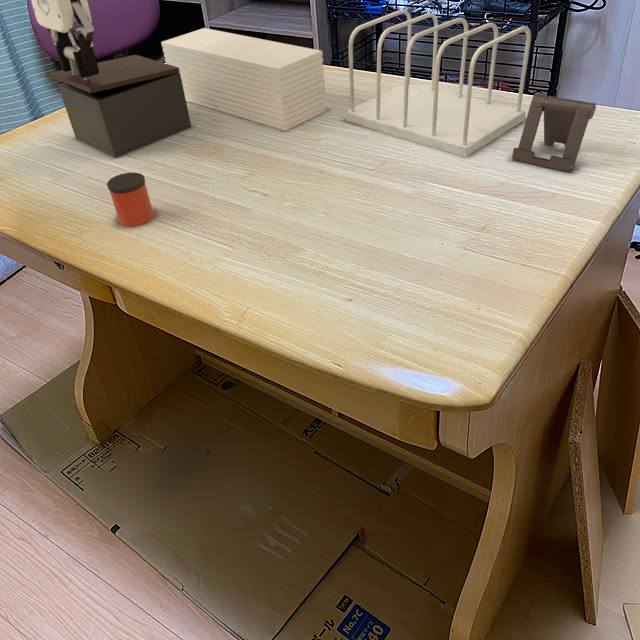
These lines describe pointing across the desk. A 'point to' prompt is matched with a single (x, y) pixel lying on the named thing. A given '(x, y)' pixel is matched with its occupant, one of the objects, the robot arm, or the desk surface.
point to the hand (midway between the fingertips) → (80, 71)
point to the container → (130, 199)
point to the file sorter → (438, 96)
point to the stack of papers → (249, 76)
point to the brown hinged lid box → (127, 114)
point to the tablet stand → (555, 130)
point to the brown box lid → (113, 72)
